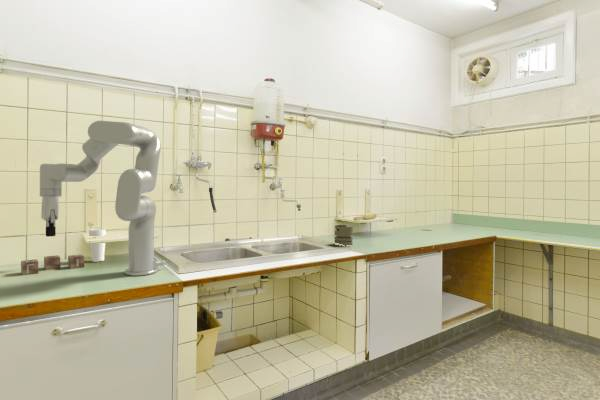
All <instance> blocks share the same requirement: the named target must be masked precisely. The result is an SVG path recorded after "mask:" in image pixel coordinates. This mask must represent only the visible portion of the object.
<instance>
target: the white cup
mask: <svg viewBox="0 0 600 400" xmlns="http://www.w3.org/2000/svg"><path fill="white" fill-rule="evenodd" d="M106 229H107V228H91V229H89V230H88V236H104V235H106V236H107V232H106V231H107V230H106ZM89 248H90V260H91V262H92V263H101V262H104V261H105V254H106V253H105V251H106V243H90V242H89ZM100 261H101V262H100Z"/></svg>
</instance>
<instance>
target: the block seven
mask: <svg viewBox="0 0 600 400" xmlns="http://www.w3.org/2000/svg"><path fill="white" fill-rule="evenodd" d="M20 268H21V269H20V273H21V275H22V276H30V275H37V274H39V261H38V259H28V260H21V261H20Z"/></svg>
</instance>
